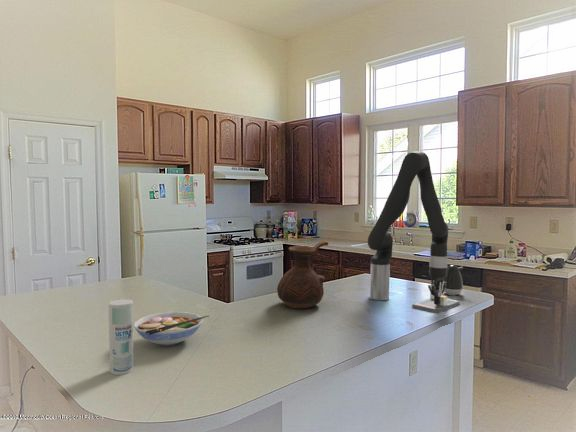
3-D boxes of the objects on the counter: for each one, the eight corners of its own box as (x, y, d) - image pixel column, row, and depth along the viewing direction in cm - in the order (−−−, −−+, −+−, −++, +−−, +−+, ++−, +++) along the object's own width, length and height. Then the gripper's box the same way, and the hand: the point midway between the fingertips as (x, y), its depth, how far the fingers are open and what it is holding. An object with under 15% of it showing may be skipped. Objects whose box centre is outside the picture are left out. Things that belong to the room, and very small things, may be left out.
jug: (306, 314, 180) (307, 244, 178) (267, 306, 193) (268, 240, 191) (333, 304, 197) (334, 240, 195) (296, 296, 210) (296, 236, 208)
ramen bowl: (179, 326, 163) (178, 305, 162) (218, 340, 148) (218, 317, 148) (117, 344, 144) (117, 320, 143) (156, 361, 129) (156, 335, 129)
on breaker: (438, 299, 200) (438, 292, 199) (430, 298, 203) (430, 291, 202) (441, 298, 202) (441, 291, 201) (433, 297, 205) (433, 290, 204)
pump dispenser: (466, 296, 213) (467, 266, 212) (445, 296, 214) (446, 266, 213) (458, 291, 224) (459, 263, 223) (438, 291, 224) (439, 263, 223)
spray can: (112, 376, 118) (111, 306, 117) (107, 369, 123) (106, 301, 122) (136, 371, 122) (135, 302, 121) (130, 363, 127) (129, 298, 126)
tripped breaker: (443, 306, 189) (444, 297, 189) (435, 304, 192) (435, 296, 192) (447, 304, 191) (447, 296, 191) (438, 303, 194) (438, 294, 194)
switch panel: (436, 313, 184) (437, 309, 184) (412, 307, 192) (412, 304, 192) (459, 304, 199) (459, 301, 199) (435, 299, 207) (435, 296, 207)
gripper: (438, 268, 181) (437, 308, 182) (453, 265, 189) (452, 303, 190) (422, 266, 186) (421, 305, 187) (437, 263, 195) (436, 300, 196)
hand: (437, 304), depth 189 cm, fingers closed
